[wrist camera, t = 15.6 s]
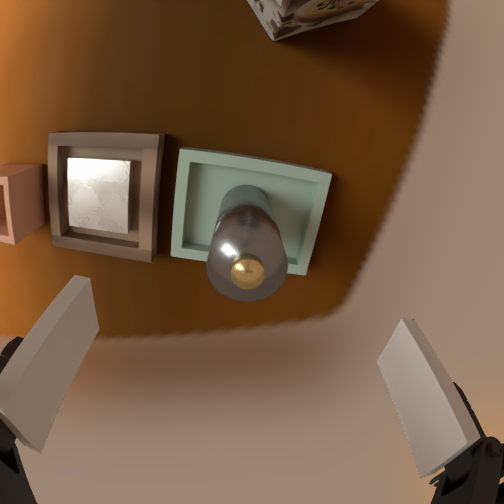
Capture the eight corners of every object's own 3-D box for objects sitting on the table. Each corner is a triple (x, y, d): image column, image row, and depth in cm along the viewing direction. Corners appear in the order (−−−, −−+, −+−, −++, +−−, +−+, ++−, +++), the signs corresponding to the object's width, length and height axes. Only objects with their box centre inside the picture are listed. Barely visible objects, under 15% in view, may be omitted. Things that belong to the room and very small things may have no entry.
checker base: (59, 131, 22) (48, 133, 21) (165, 133, 24) (159, 134, 22) (62, 238, 28) (52, 245, 26) (156, 253, 29) (151, 262, 27)
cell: (223, 181, 25) (208, 230, 14) (274, 188, 25) (298, 241, 15) (217, 229, 27) (202, 304, 16) (266, 235, 27) (280, 312, 17)
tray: (184, 146, 24) (179, 148, 22) (326, 170, 25) (332, 174, 23) (175, 247, 28) (170, 256, 27) (301, 265, 29) (305, 275, 28)
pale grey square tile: (73, 156, 23) (67, 158, 22) (134, 159, 24) (130, 161, 23) (74, 222, 26) (69, 225, 25) (131, 230, 27) (127, 234, 26)
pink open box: (5, 163, 23) (-28, 176, 18) (42, 163, 24) (7, 176, 18) (9, 217, 26) (-21, 236, 21) (45, 223, 27) (15, 244, 21)
